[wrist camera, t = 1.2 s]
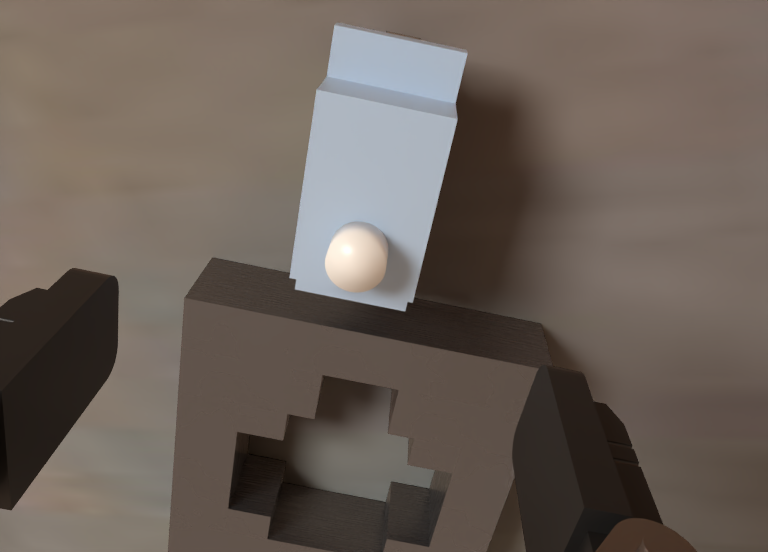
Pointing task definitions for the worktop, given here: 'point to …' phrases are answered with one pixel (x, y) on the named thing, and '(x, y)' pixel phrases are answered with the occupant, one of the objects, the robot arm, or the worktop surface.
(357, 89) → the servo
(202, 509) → the block with stepped hole
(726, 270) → the worktop surface
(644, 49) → the worktop surface
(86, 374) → the robot arm
